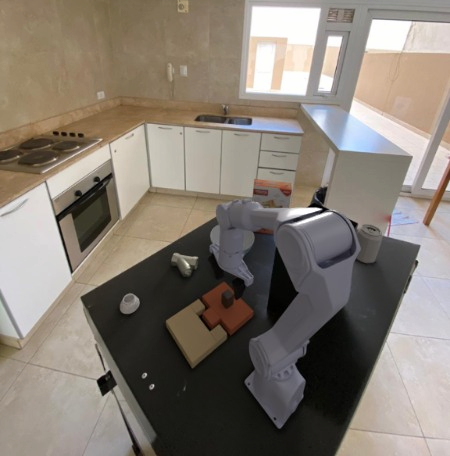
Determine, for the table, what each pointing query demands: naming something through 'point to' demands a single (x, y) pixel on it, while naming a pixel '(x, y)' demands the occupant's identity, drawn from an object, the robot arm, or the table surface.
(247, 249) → the chinaware
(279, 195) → the cracker box
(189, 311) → the sand pad
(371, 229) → the can
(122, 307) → the white jar
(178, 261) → the pipe fitting
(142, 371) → the table surface
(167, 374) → the table surface
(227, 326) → the terracotta pad
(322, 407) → the table surface
